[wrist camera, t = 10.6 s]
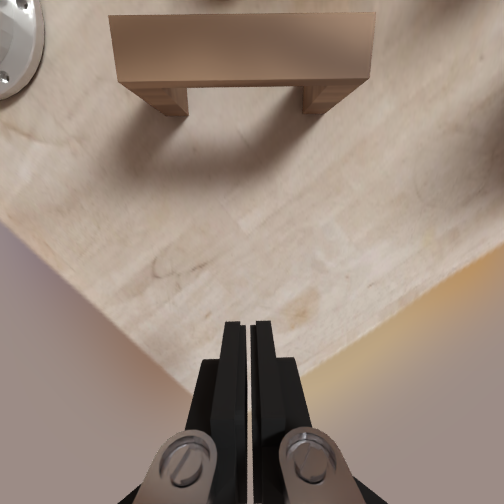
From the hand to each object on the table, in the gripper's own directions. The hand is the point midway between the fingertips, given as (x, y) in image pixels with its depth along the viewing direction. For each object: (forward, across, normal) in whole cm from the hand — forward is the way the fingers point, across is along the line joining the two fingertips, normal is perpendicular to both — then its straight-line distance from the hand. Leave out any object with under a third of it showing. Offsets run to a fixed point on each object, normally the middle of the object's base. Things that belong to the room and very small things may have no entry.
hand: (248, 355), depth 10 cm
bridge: (+17, 0, -13) cm, 21 cm away
